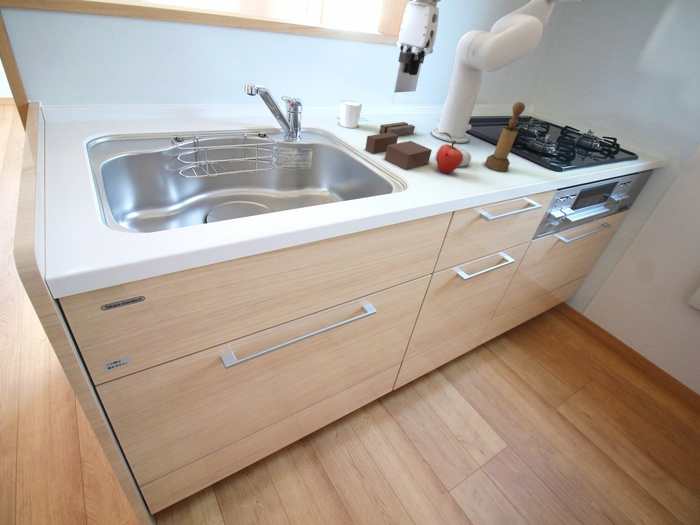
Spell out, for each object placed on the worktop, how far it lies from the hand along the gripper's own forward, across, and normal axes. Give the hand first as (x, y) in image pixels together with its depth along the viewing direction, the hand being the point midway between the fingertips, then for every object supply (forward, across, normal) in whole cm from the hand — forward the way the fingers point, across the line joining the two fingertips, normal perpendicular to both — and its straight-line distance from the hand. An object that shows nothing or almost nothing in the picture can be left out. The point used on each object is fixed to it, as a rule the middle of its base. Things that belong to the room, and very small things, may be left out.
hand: (408, 73), depth 110 cm
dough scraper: (+5, 0, 0) cm, 5 cm away
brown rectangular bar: (+18, -8, +16) cm, 26 cm away
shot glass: (+19, +13, +9) cm, 25 cm away
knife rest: (+18, +1, -2) cm, 19 cm away
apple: (+19, -27, +12) cm, 35 cm away
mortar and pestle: (+19, -33, -7) cm, 38 cm away
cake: (+18, -18, +17) cm, 31 cm away
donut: (+19, -24, +3) cm, 30 cm away
